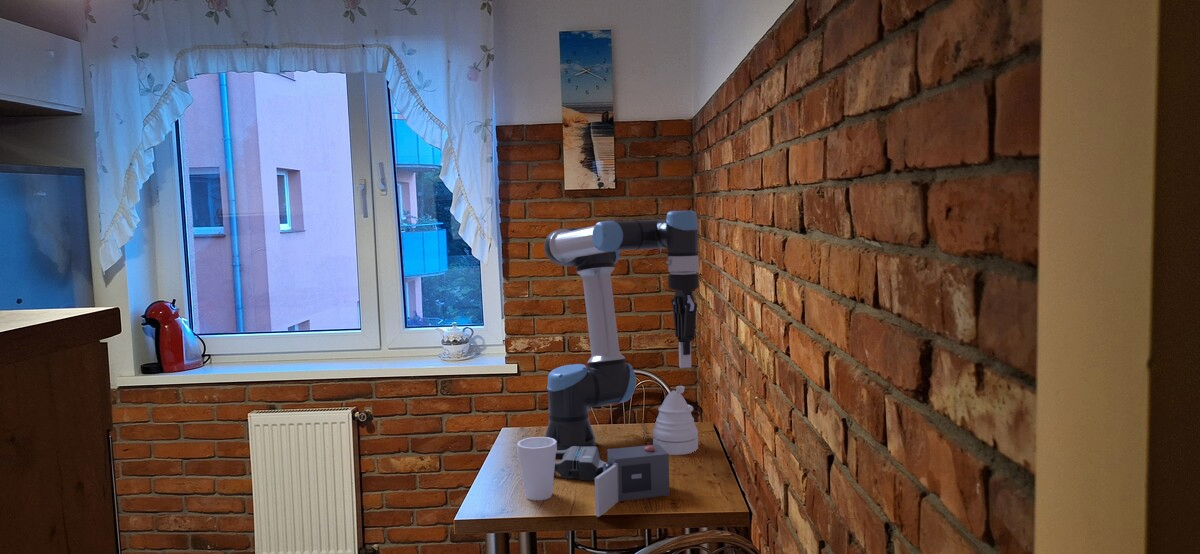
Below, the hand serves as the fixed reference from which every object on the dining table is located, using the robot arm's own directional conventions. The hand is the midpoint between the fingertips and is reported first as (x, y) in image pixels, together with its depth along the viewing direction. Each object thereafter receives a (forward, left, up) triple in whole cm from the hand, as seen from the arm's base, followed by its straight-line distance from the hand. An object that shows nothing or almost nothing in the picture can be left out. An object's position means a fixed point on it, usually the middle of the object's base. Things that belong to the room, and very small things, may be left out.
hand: (685, 367), depth 182 cm
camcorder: (-14, -26, -29) cm, 42 cm away
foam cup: (+1, -38, -29) cm, 48 cm away
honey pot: (-25, +5, -29) cm, 38 cm away
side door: (+14, -24, -28) cm, 40 cm away
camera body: (+6, -14, -28) cm, 32 cm away
